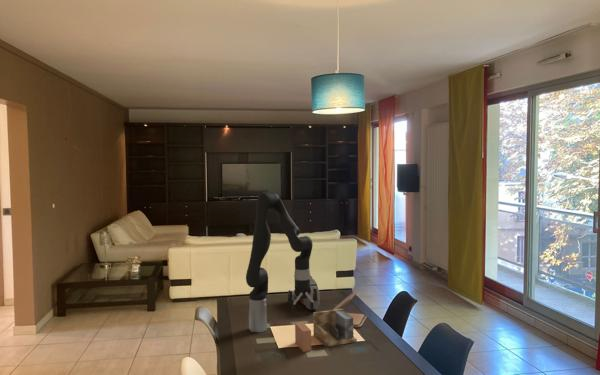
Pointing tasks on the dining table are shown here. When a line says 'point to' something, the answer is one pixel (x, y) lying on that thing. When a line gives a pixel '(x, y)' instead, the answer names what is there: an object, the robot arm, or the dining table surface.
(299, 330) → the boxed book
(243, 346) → the dining table surface
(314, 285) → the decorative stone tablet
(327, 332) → the shelf
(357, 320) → the case
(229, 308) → the dining table surface
